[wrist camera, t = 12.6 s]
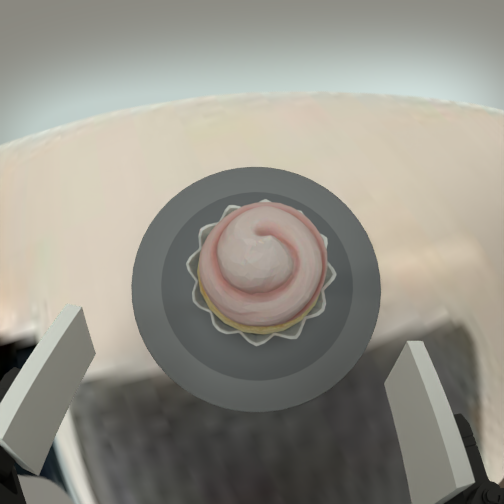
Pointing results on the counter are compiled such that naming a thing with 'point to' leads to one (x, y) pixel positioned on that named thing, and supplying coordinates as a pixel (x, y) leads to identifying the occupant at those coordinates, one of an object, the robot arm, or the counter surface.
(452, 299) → the counter surface
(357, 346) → the slate plate
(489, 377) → the counter surface
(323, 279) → the cupcake
